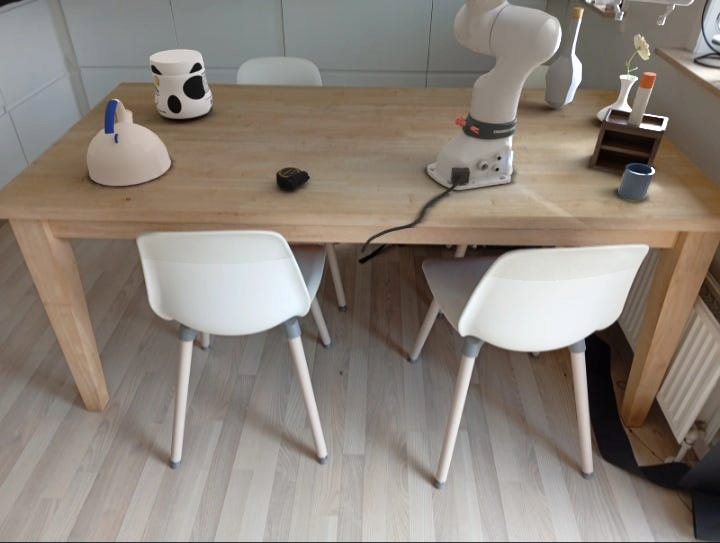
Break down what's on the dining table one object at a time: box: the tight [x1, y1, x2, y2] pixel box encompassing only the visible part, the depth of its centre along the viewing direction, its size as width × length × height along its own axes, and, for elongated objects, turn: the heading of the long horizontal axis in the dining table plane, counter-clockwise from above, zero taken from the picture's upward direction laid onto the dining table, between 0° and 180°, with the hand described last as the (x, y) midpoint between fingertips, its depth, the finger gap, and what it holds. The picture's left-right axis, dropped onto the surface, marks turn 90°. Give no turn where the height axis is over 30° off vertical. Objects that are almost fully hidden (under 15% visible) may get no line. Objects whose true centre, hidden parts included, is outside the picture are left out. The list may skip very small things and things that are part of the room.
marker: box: [628, 71, 658, 125], centre depth 130 cm, size 3×3×12 cm
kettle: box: [86, 98, 172, 187], centre depth 135 cm, size 20×21×18 cm
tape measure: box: [275, 166, 311, 191], centre depth 132 cm, size 7×7×4 cm
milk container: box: [148, 48, 214, 121], centre depth 166 cm, size 17×17×18 cm
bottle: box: [544, 6, 585, 110], centre depth 166 cm, size 11×11×30 cm
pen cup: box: [617, 163, 656, 201], centre depth 127 cm, size 6×6×7 cm
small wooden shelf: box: [589, 108, 669, 174], centre depth 137 cm, size 9×14×13 cm, turn 61°
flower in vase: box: [596, 33, 651, 122], centre depth 159 cm, size 13×11×25 cm
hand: (638, 22), depth 130 cm, fingers open, 8 cm apart
